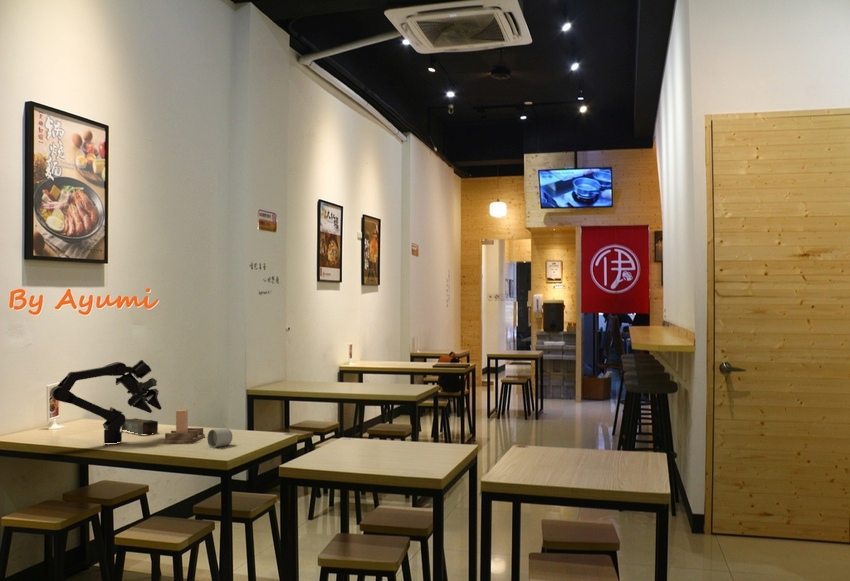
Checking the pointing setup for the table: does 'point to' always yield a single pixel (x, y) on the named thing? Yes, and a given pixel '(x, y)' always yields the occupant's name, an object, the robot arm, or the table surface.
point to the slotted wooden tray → (184, 436)
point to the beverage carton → (140, 426)
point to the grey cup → (219, 437)
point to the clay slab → (182, 421)
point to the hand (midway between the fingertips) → (156, 410)
